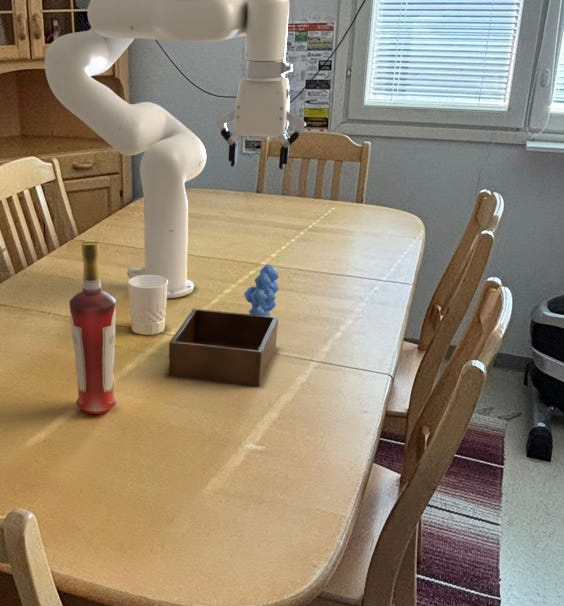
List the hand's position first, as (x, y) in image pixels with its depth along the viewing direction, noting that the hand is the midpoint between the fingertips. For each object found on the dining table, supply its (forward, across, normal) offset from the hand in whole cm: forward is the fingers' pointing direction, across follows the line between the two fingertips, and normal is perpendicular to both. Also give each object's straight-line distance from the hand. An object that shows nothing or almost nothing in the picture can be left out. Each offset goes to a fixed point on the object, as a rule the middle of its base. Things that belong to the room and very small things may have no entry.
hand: (257, 166), depth 170 cm
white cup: (+28, +17, +20) cm, 39 cm away
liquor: (+28, +15, +57) cm, 65 cm away
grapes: (+28, -4, +11) cm, 31 cm away
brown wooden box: (+28, -2, +32) cm, 43 cm away
